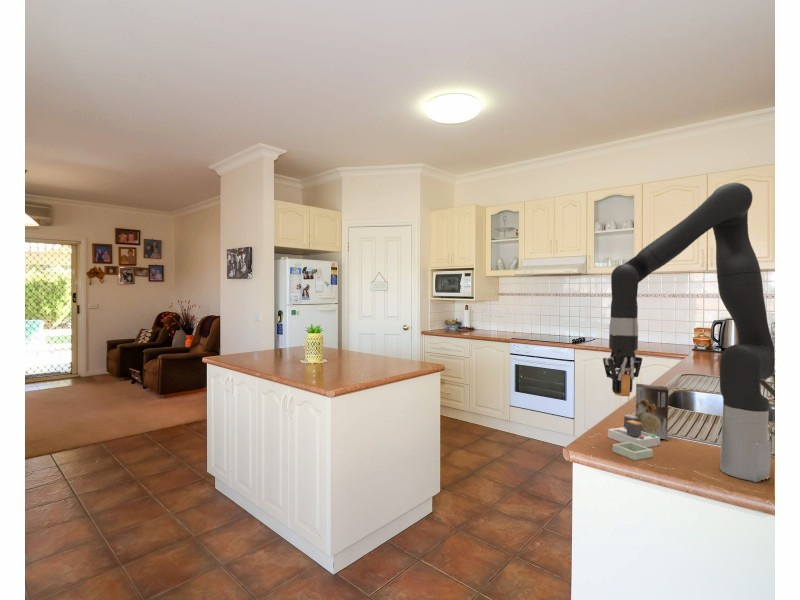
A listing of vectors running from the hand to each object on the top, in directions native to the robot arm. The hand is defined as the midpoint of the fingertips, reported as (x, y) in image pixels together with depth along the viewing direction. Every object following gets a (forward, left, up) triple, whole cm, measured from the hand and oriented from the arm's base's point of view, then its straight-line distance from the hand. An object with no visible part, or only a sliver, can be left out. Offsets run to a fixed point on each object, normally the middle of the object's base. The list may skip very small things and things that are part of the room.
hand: (622, 392), depth 130 cm
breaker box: (+4, -10, -17) cm, 20 cm away
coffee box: (+6, -21, -17) cm, 28 cm away
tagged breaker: (+2, -8, -14) cm, 16 cm away
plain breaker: (+7, -13, -14) cm, 20 cm away
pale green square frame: (-4, 0, -17) cm, 17 cm away
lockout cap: (0, 0, -1) cm, 1 cm away
